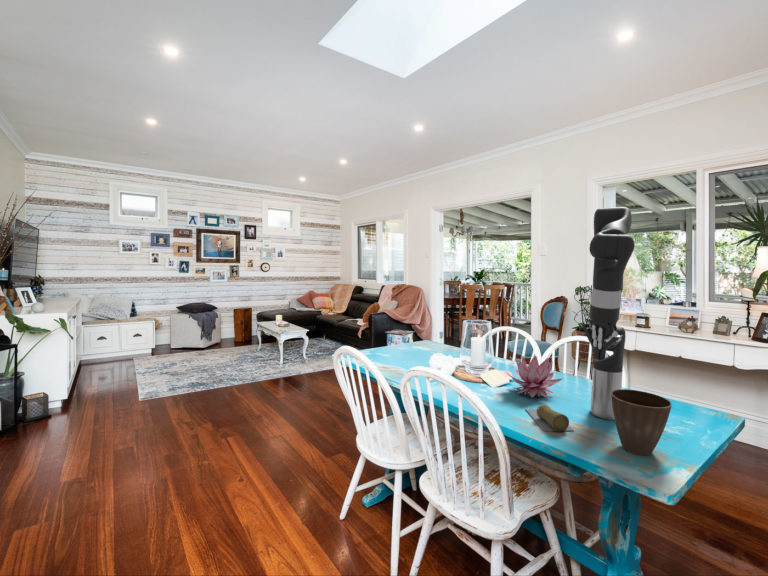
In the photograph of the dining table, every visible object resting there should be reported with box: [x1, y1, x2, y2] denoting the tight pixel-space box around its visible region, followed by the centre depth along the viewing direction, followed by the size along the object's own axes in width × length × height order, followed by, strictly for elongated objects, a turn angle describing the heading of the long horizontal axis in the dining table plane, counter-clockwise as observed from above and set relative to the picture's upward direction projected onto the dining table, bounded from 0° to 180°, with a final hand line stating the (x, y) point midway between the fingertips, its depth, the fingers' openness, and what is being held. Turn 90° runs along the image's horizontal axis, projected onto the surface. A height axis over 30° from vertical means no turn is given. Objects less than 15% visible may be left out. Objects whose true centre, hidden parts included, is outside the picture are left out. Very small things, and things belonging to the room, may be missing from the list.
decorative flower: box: [505, 355, 563, 399], centre depth 159 cm, size 21×21×15 cm
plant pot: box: [611, 388, 673, 456], centre depth 112 cm, size 15×15×16 cm
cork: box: [536, 404, 570, 433], centre depth 129 cm, size 6×6×11 cm
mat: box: [525, 408, 575, 432], centre depth 133 cm, size 18×10×1 cm, turn 178°
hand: (598, 359), depth 113 cm, fingers closed
